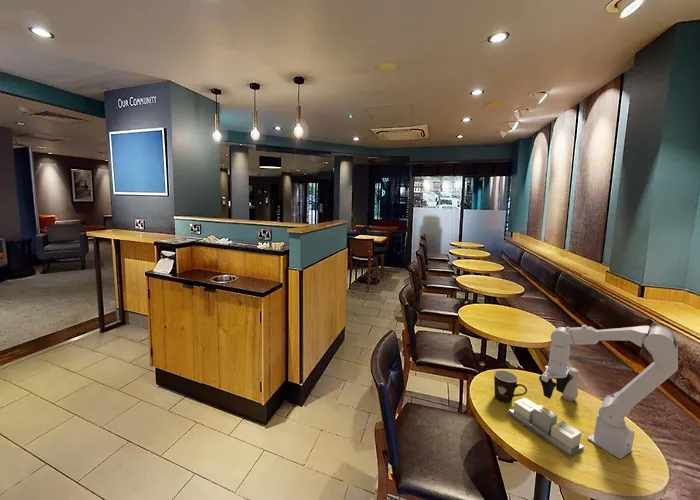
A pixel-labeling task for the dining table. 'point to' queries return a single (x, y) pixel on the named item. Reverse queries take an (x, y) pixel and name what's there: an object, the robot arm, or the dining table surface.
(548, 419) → the block
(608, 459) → the dining table surface
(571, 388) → the salt shaker
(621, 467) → the dining table surface
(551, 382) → the robot arm
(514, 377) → the coffee mug
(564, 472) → the dining table surface
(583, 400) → the dining table surface
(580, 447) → the rail
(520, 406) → the block
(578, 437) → the module
